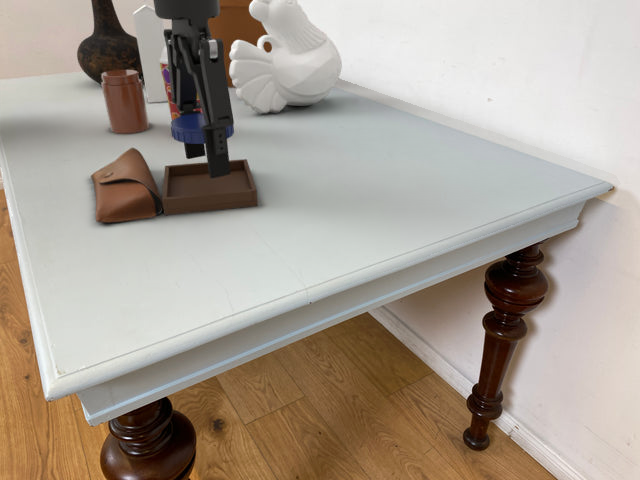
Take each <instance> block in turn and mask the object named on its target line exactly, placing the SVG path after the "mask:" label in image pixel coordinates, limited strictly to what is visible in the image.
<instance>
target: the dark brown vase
mask: <svg viewBox="0 0 640 480" xmlns="http://www.w3.org/2000/svg"><path fill="white" fill-rule="evenodd" d="M90 1H91V8H92V15H93V16H92V17H93V31H92V34H91V35H90V36H87V37H86V38H85V39H83V40H82V41H81V42H80V43H79V46H78V48H77V51H76V59H77V61H78V65H79V67H80V69H81V70H82V71H83V72H84V73H85V75H86V76H88V78H90V79H91V80H92V81H93V82H95V83H98V84H100V85H101V82H103V80H102V78H101V77H102V75H101V74H102V73H104V72H107V71H113V70H135V71H137V72H138V78H139V79H140V80H142V78H144V76H143V70H142V64H141V59H140V53H139V47H138V42H137V36H134V35H131V34H129V33H128V32H126V30H125V29H124V27H123V26H122V24H121V22H120V20H119V17H118V15H117V12H116V9H115V6H114V3H113V0H90Z"/></svg>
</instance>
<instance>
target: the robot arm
mask: <svg viewBox="0 0 640 480" xmlns="http://www.w3.org/2000/svg"><path fill="white" fill-rule="evenodd" d="M153 6H154V7H153V8H155V13H156V15H157V16H158V17H159V18H161V19H162V20H170V21H171V28H164V33H163V34H164V37H165V42H166V47H167V56H168V66H169V76H170V86H171V96H172V102H173V104H177V109H178V111H179V112H180V111H181V113H180V116H183V115H188V114H194V113H200V111H199V110H196V111H194V110H193V109H199V108H202V112H203V115H204V119H205V123H206V125H204V126H202V127H201V130H202V131H204V138H205V144H189V143H183V146H184V153H185V158H186V159H187V160H192V159H195V158H201V157H206V162H208V170H209V177H210V178H211V179H212V178H216V177H221V176H225V175H229V174H230V164H229V160H230V155H229V146H228V139H227V134H226V127H228V126H232V125H233V126H234V123H235V121H234V115H233V109H232V103H231V102H232V101H231V96H230V89H229V87H228V83H227V77H226V70H225V64H224V45H223V41H222V39H212V36H211V33H210V29H209V25H208V19H209V18H215V17H217V16H218V15H219V14H220V6H219V0H153ZM197 93H198V96H199V100H200V103H199V102H197ZM200 104H201V105H200Z"/></svg>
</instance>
